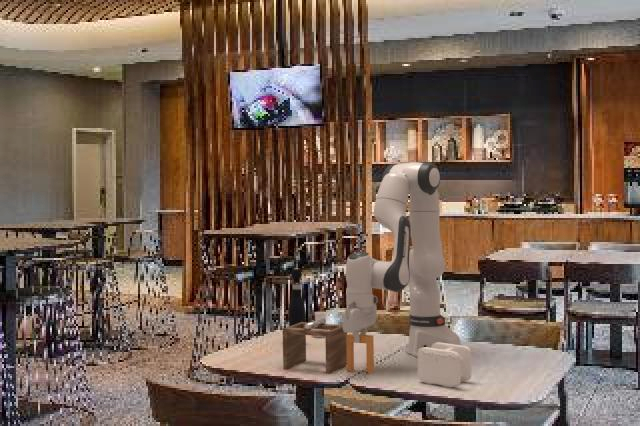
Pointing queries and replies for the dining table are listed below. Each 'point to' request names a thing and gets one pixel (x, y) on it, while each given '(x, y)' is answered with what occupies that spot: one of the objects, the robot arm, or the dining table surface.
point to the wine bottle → (296, 300)
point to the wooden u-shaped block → (369, 351)
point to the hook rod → (314, 324)
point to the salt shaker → (317, 317)
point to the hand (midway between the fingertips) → (359, 341)
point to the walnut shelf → (297, 345)
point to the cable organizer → (444, 364)
